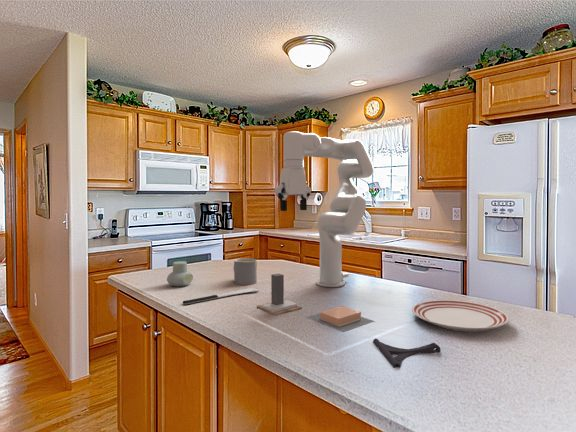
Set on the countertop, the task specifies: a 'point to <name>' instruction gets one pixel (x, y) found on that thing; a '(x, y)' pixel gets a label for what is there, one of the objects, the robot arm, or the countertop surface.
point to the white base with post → (278, 295)
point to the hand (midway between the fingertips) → (293, 210)
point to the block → (340, 315)
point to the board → (279, 311)
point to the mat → (344, 327)
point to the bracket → (403, 351)
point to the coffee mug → (245, 271)
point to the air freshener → (180, 274)
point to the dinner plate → (460, 315)
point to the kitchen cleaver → (217, 296)
